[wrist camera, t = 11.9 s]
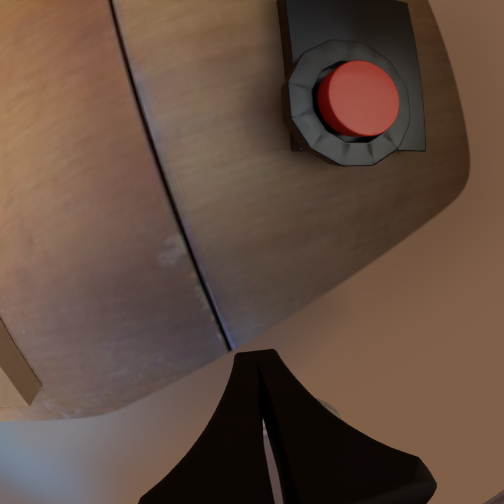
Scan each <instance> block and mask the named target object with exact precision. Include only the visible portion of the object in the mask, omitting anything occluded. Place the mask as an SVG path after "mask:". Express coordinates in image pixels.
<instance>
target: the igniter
mask: <svg viewBox="0 0 504 504" xmlns="http://www.w3.org/2000/svg"><path fill="white" fill-rule="evenodd" d="M317 102H318V107H319V111H320V113H321V115H322V117H323V119H324V120H325V121H326V123H327V124H328V125H329V126H330V127H331V128H332V129H334V130H335V131H337V132H338V133H340V134H343V135H345V136H350V137H362V136H375V135H379V134H382V133H384V132H385V131H387V130H388V129H389V128H390V127H391V126H392V125H393V123H394V122H395V120H396V118H397V115H398V112H399V95H398V91H397V89H396V86H395V84H394V82H393V81H392V79H391V78H390V76H389V75H388V74H387V73H386V72H385V71H384V70H383V69H381V68H380V67H378V66H377V65H375V64H373V63H370V62H367V61H361V60H355V61H349V62H346V63H344V64H342V65H341V66H339V67H338V68H336V69H335V70H333V71H331V72H330V73H328V74H327V75H326V76H325V77H324V78H323V80H322V81H321V83H320V85H319V88H318V93H317Z"/></svg>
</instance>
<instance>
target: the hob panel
mask: <svg viewBox="0 0 504 504" xmlns="http://www.w3.org/2000/svg"><path fill="white" fill-rule="evenodd" d="M41 387H42V385H41V384H40V382H39V381H38V379H37V378H36V376H35V375H34V373H33V372H32V370H31V369H30V367H29V366H28V364H27V363H26V361H25V360H24V358H23V357H22V355H21V353H20V352H19V350H18V349H17V347H16V345H15V344H14V342H13V340H12V338H11V337H10V335H9V333H8V331H7V330H6V328H5V326H4V324H3V322H2V321H1V319H0V408H19V407H30V405H31V403H32V402H33V400H34V398H35V397H36V395H37V393H38V392H39V390H40V388H41Z"/></svg>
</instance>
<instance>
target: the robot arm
mask: <svg viewBox="0 0 504 504" xmlns="http://www.w3.org/2000/svg"><path fill="white" fill-rule="evenodd" d="M263 420H264V424H265V427H264V428H263ZM436 488H437V483H436V482H435V480H434V478H433V476H432V474H431V473H430V471H429V470H428V468H427V467H426V466H425V464H424V463H423V462H422V461H421V459H420V458H419V457H417V456H414V455H411V454H408V453H405V452H402V451H400V450H397V449H394V448H391V447H389V446H387V445H384V444H382V443H380V442H378V441H376V440H374V439H372V438H370V437H368V436H367V435H365V434H363V433H362V432H360V431H358V430H356V429H355V428H353V427H351V426H350V425H348V424H347V423H345V422H344V421H342V420H341V419H340V418H338V417H337V416H336V415H334V414H333V413H332V412H330V411H329V410H328V409H327V408H326V407H324V406H323V405H322V404H321V403H320V402H319V401H318V400H317V399H315V398H314V397H313V396H312V395H311V394H310V393H309V392H308V391H307V390H306V389H305V388H304V387H303V385H302V384H301V383H300V382H299V381H298V380H297V379H296V378H295V376H294V375H293V374H292V373H291V372H290V370H289V369H288V368H287V366H286V365H285V364H284V362H283V361H282V359H281V358H280V356H279V355H278V353H277V351H276V350H274V349H267V350H259V351H250V352H241V353H237V354H236V355H235V356H234V364H233V368H232V372H231V375H230V378H229V381H228V383H227V386H226V389H225V391H224V394H223V396H222V398H221V400H220V402H219V404H218V406H217V408H216V411H215V412H214V414H213V416H212V418H211V420H210V421H209V423H208V425H207V426H206V428H205V430H204V431H203V432H202V434H201V435H200V437H199V438H198V440H197V441H196V442H195V444H194V445H193V446H192V448H191V449H190V450H189V451H188V453H187V454H186V455H185V456H184V457H183V458H182V460H181V461H180V462H179V463H178V464H177V465H176V466H175V467H174V468H173V469H172V470H171V471H170V472H169V474H168V475H166V476H165V477H164V478H163V479H162V480H161V481H160V482H159V483H158V484H156V485H155V486H154V487H153V488H152V489H151V490H149V491H148V492H147V493H146V494H144V495H143V496H142V497H141V498H140V500H139V503H138V504H427V502H428V501H429V500H430V499H431V497H432V496H433V494H434V492H435V490H436ZM483 504H504V490H503V491H502V492H500V493H499V494H497V495H496V496H494V497H493V498H491V499H490V500H488V501H487V502H485V503H483Z"/></svg>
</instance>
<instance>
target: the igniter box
mask: <svg viewBox="0 0 504 504" xmlns="http://www.w3.org/2000/svg"><path fill="white" fill-rule="evenodd" d="M277 6H278V14H279V23H280V31H281V40H282V50H283V59H284V69H285V81H284V83H283V85H282V87H281V97H282V109H283V120H284V123H285V124H286V126H287V127H288V129H289V130H290V140H291V151H300V152H301V151H306V152H308V153H310V154H312V155H314V156H316V157H318V158H320V159H321V160H323V161H325V162H327V163H329V164H332V165H337V166H373V165H375V164H377V163H378V162H380V161H381V160H383V159H384V158H386V157H387V156H389V155H390V154H392V153H393V152H394V151H420V152H425V151H426V137H425V119H424V106H423V95H422V86H421V77H420V70H419V63H418V56H417V50H416V44H415V38H414V33H413V28H412V23H411V18H410V13H409V9H408V5H407V3H405V2H401V1H397V0H277ZM355 60H361V61H367V62H370V63H373V64H375V65H377V66H378V67H380V68H381V69H383V70H384V71H385V72H386V73H387V74H388V75H389V76H390V78H391V79H392V81H393V82H394V84H395V86H396V89H397V91H398V95H399V112H398V115H397V118H396V120H395V122H394V123H393V125H392V126H391V127H390V128H389V129H388V130H387V131H385V132H384V133H382V134H379V135H375V136H362V137H350V136H345V135H343V134H340V133H338V132H337V131H335V130H334V129H332V128H331V127H330V126H329V125H328V124H327V123H326V121H325V120H324V119H323V117H322V115H321V113H320V111H319V107H318V102H317V93H318V88H319V85H320V83H321V81H322V80H323V78H324V77H325V76H326V75H327V74H328V73H330V72H331V71H333V70H335V69H336V68H338V67H339V66H341V65H342V64H344V63H346V62H349V61H355Z"/></svg>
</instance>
